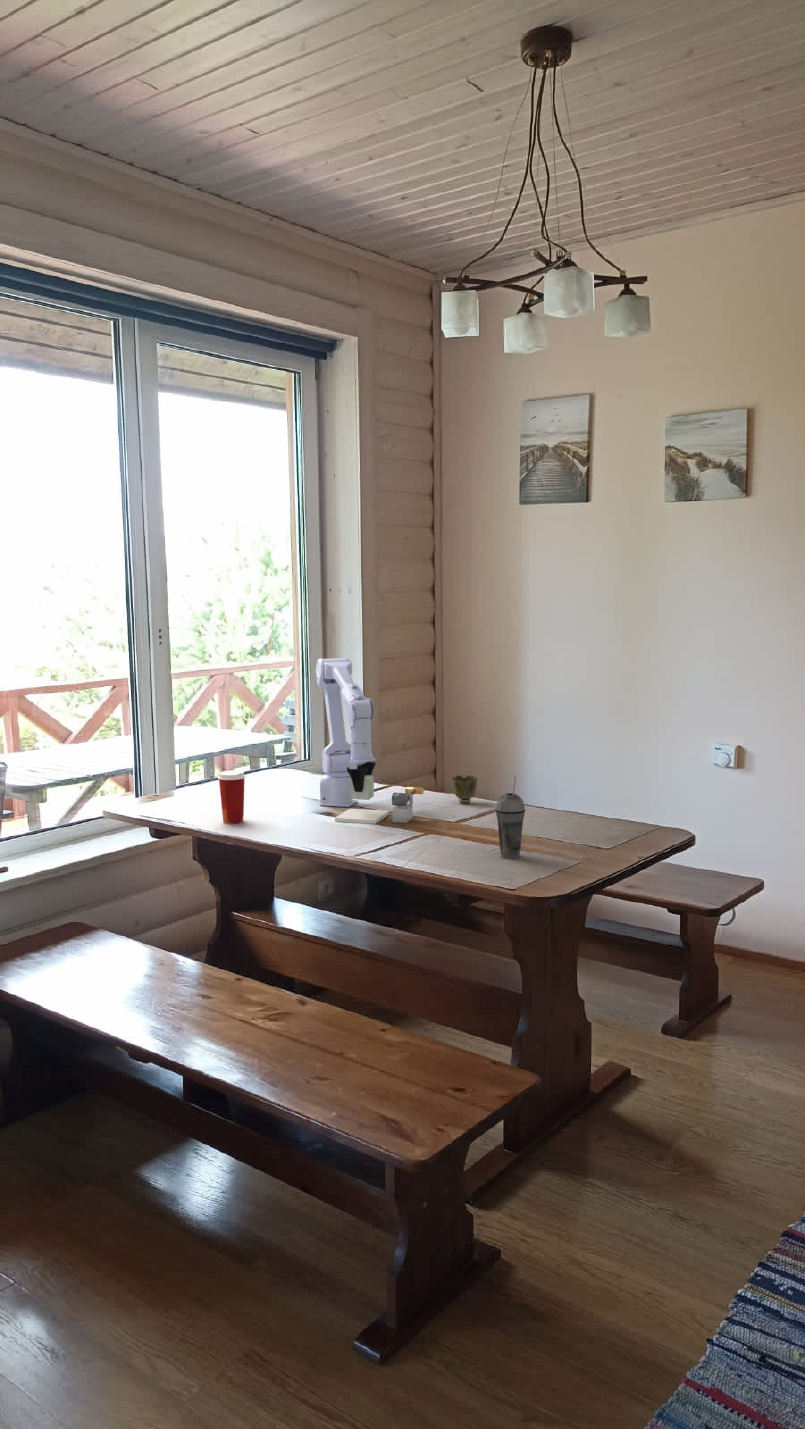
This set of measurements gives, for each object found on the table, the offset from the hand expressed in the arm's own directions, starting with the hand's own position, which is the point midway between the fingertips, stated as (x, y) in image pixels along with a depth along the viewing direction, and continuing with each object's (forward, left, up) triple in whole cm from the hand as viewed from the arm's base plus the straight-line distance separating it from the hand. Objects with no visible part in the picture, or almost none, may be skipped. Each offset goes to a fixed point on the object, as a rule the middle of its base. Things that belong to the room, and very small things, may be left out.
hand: (361, 789), depth 284 cm
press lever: (+12, +4, -3) cm, 13 cm away
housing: (0, 0, -2) cm, 2 cm away
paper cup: (-34, -13, -8) cm, 37 cm away
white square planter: (+12, 0, -8) cm, 14 cm away
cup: (+24, +25, -8) cm, 36 cm away
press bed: (0, 0, -8) cm, 8 cm away
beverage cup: (+48, -29, -8) cm, 57 cm away
